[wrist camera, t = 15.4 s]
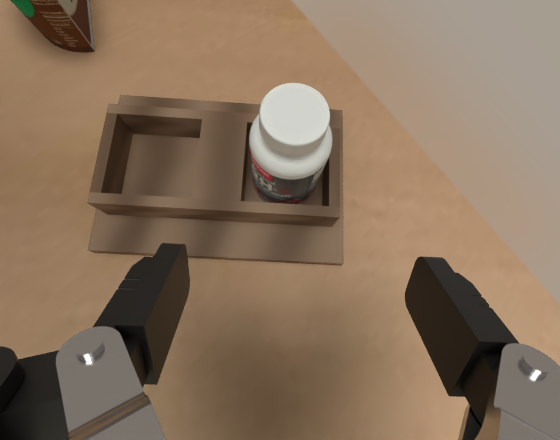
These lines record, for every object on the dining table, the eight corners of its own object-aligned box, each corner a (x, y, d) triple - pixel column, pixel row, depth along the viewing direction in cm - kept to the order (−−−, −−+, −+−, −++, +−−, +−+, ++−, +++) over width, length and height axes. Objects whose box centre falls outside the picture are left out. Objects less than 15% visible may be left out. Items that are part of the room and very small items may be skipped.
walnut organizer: (94, 252, 26) (64, 242, 22) (124, 101, 29) (103, 70, 25) (340, 265, 26) (353, 258, 22) (339, 116, 30) (351, 88, 26)
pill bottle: (243, 197, 26) (231, 137, 17) (264, 142, 28) (265, 59, 18) (305, 218, 26) (328, 169, 17) (323, 162, 28) (354, 87, 18)
